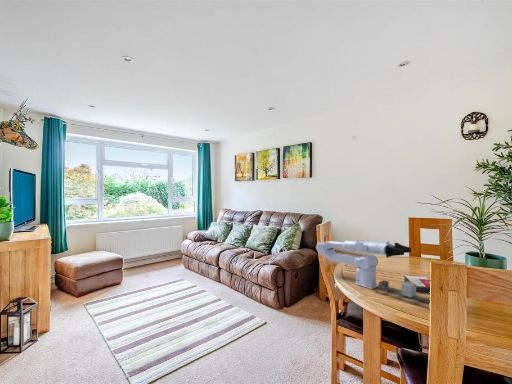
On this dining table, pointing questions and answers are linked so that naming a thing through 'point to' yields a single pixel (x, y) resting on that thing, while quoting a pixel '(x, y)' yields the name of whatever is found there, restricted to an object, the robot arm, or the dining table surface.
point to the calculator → (419, 283)
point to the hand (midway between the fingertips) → (407, 251)
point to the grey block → (408, 289)
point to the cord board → (397, 294)
